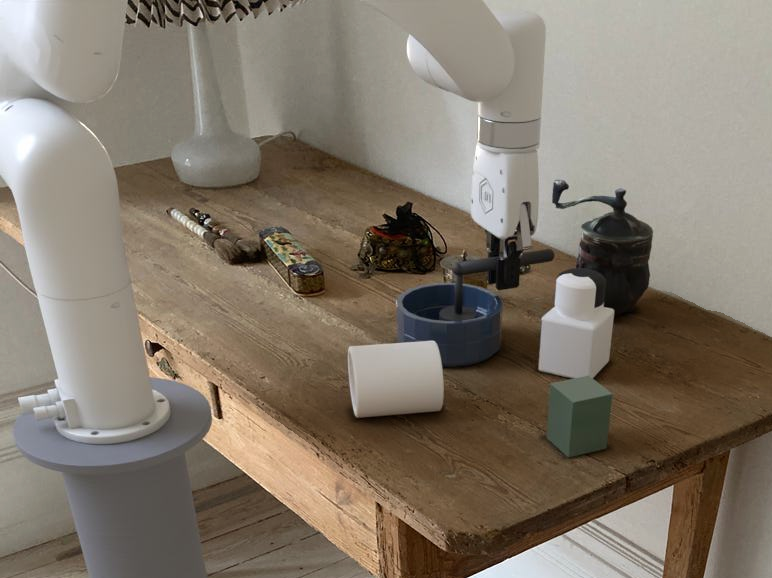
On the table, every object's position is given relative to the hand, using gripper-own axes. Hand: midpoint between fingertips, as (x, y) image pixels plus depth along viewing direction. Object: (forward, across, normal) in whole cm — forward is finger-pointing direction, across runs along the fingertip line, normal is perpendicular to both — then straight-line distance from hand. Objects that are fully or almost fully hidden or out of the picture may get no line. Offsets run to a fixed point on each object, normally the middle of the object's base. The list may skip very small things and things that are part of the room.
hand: (503, 284), depth 134 cm
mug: (+7, +12, -21) cm, 25 cm away
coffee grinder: (+7, -2, +16) cm, 18 cm away
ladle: (+5, 0, -1) cm, 5 cm away
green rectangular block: (+7, +30, -6) cm, 31 cm away
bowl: (+7, 0, -8) cm, 11 cm away
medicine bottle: (+7, +12, +4) cm, 15 cm away
